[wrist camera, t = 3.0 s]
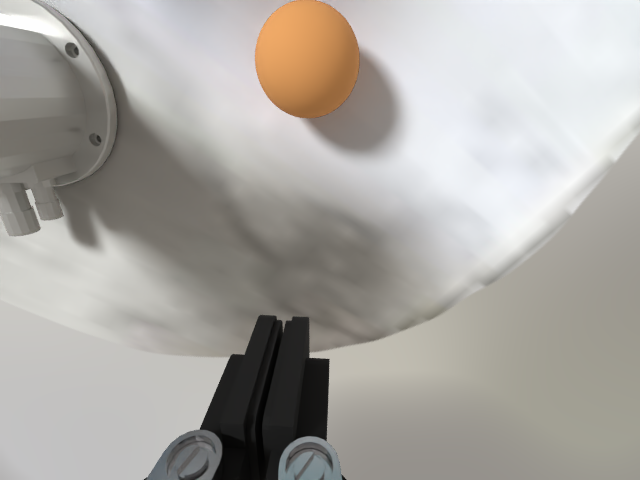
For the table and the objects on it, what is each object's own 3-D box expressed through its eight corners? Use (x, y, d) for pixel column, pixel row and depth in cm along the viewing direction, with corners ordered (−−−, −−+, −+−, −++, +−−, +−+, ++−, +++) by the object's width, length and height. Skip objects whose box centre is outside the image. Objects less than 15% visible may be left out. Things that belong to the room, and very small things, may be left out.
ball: (354, 115, 23) (359, 123, 17) (268, 114, 23) (247, 121, 18) (359, 13, 20) (367, -16, 15) (263, 12, 21) (237, -16, 15)
